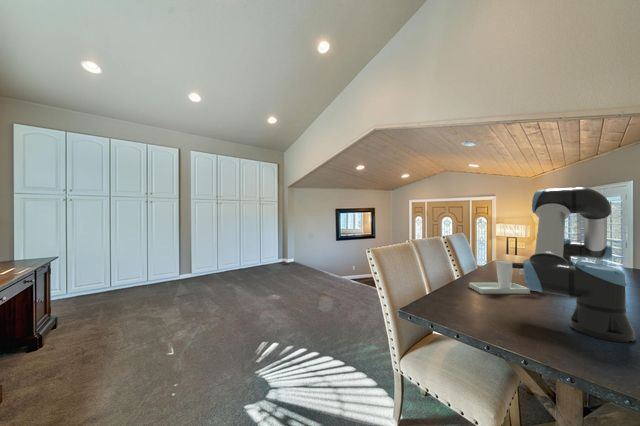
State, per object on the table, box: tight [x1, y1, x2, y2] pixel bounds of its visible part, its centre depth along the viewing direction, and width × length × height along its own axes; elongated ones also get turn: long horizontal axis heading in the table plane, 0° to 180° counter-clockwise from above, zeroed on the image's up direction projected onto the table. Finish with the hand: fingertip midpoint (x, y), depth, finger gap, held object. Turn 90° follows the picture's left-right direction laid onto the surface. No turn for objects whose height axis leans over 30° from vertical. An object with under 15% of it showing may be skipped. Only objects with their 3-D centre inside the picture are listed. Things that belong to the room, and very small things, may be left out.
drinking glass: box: [496, 260, 513, 289], centre depth 132 cm, size 7×7×15 cm
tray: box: [468, 281, 531, 295], centre depth 134 cm, size 24×12×2 cm, turn 88°
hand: (508, 268), depth 135 cm, fingers open, 13 cm apart
